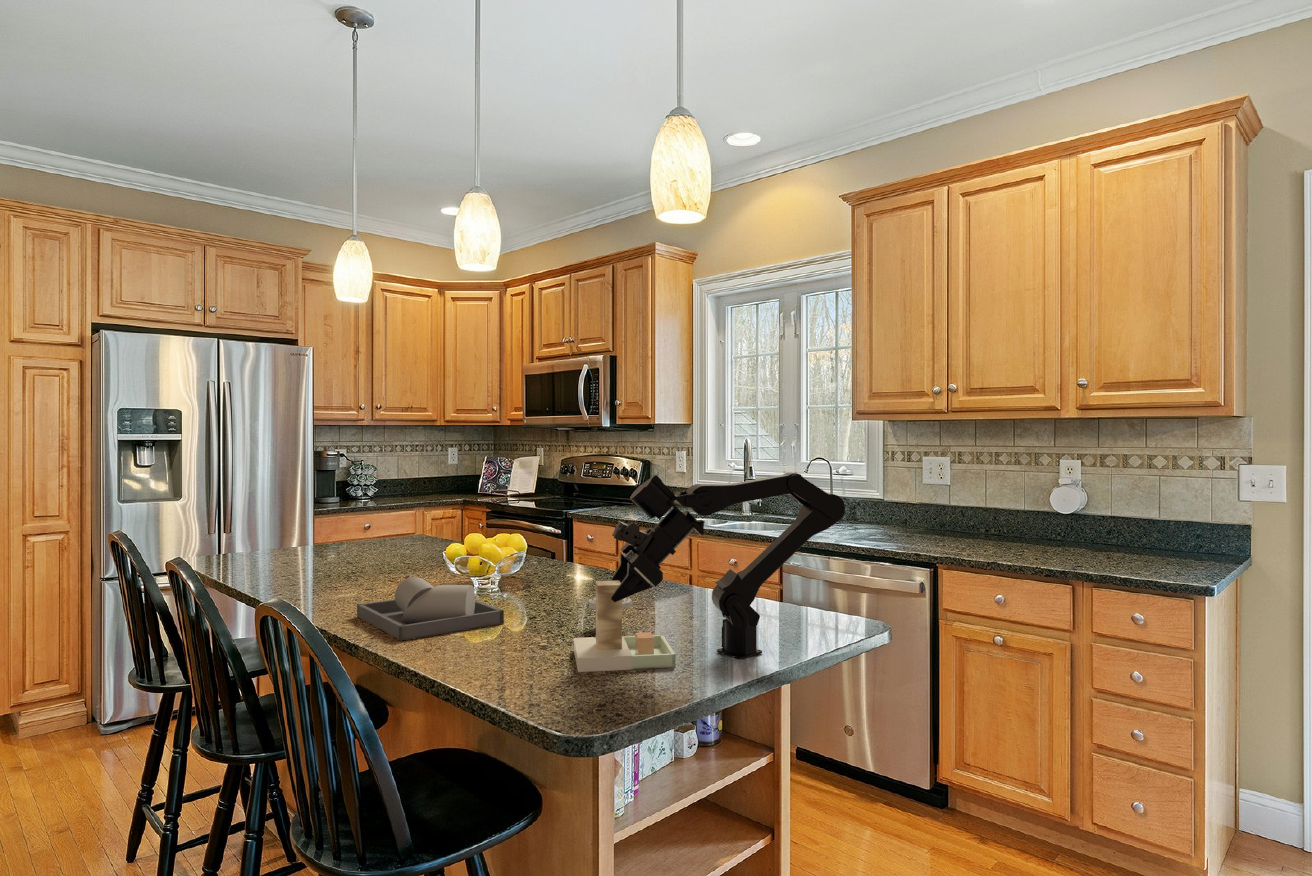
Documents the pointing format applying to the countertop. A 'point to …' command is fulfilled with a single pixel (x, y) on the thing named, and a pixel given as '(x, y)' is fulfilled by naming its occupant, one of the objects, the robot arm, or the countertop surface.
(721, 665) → the countertop surface
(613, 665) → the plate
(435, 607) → the elbow connector
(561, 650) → the countertop surface
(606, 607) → the block
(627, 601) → the showerhead
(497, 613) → the divided desk organizer
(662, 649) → the tray
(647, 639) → the peach rectangular box
